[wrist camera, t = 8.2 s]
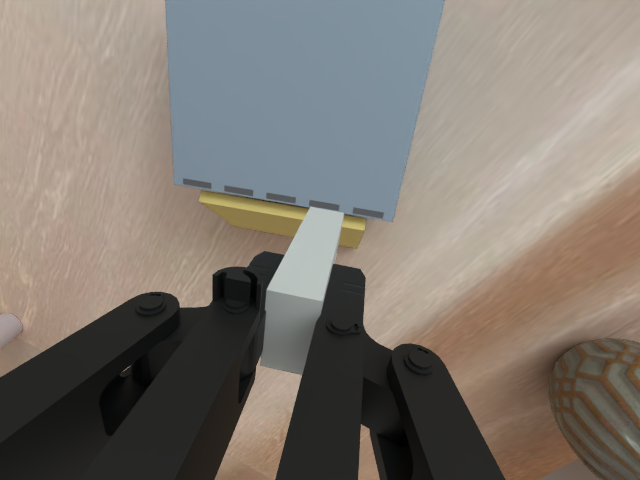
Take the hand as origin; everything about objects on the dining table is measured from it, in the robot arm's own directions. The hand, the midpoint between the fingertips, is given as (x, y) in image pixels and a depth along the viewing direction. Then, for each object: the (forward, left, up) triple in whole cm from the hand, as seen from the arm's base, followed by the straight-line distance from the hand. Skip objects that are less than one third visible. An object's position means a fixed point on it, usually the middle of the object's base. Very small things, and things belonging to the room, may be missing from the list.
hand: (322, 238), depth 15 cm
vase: (+19, +31, -21) cm, 42 cm away
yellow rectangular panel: (+6, -5, -17) cm, 18 cm away
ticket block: (-5, -5, -21) cm, 22 cm away
